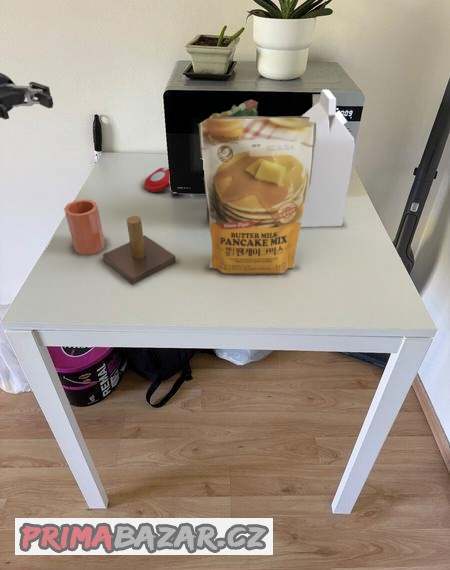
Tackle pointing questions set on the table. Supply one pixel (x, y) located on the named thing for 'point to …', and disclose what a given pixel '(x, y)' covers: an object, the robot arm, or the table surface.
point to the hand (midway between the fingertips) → (28, 107)
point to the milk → (328, 165)
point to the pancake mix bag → (256, 189)
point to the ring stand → (138, 254)
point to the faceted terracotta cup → (85, 226)
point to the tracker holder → (158, 180)
